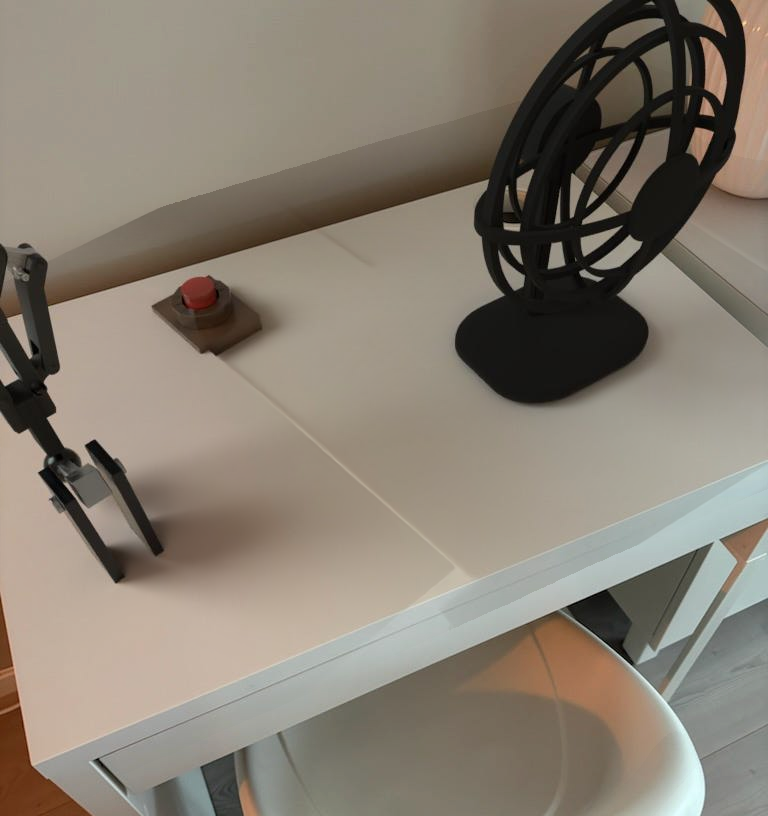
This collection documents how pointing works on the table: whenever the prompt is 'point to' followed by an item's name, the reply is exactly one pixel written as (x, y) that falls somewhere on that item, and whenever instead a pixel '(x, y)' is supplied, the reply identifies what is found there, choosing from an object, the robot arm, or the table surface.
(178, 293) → the button block
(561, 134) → the desk fan
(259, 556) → the table surface
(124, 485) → the bracket
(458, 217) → the table surface
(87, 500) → the lever
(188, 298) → the button
